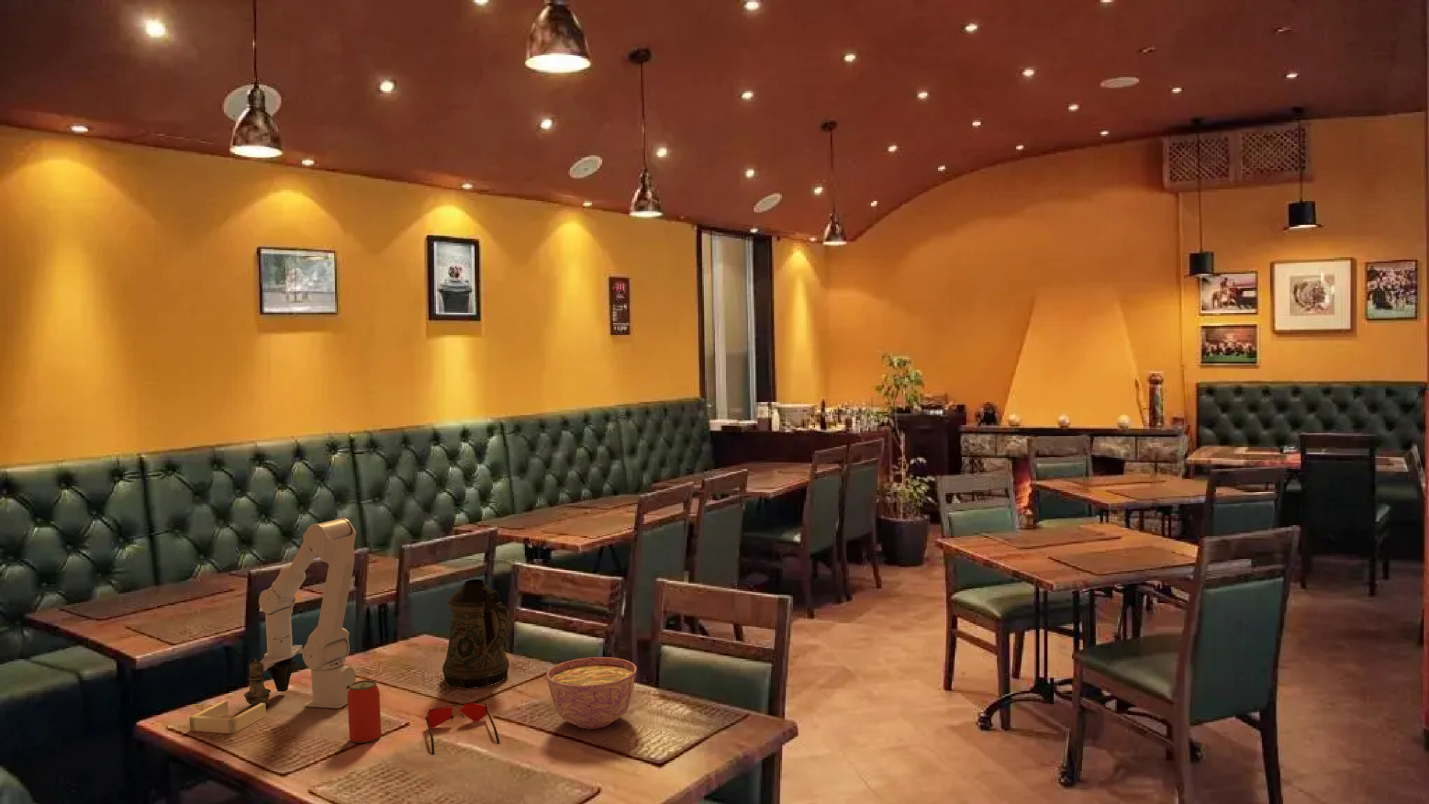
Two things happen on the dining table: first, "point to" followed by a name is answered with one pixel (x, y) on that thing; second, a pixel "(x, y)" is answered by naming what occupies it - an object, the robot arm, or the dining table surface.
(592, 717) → the bowl of food
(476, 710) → the glasses
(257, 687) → the dark bronze turned piece
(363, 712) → the beer can
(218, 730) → the holder
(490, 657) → the beer stein
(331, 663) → the robot arm
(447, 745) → the dining table surface
